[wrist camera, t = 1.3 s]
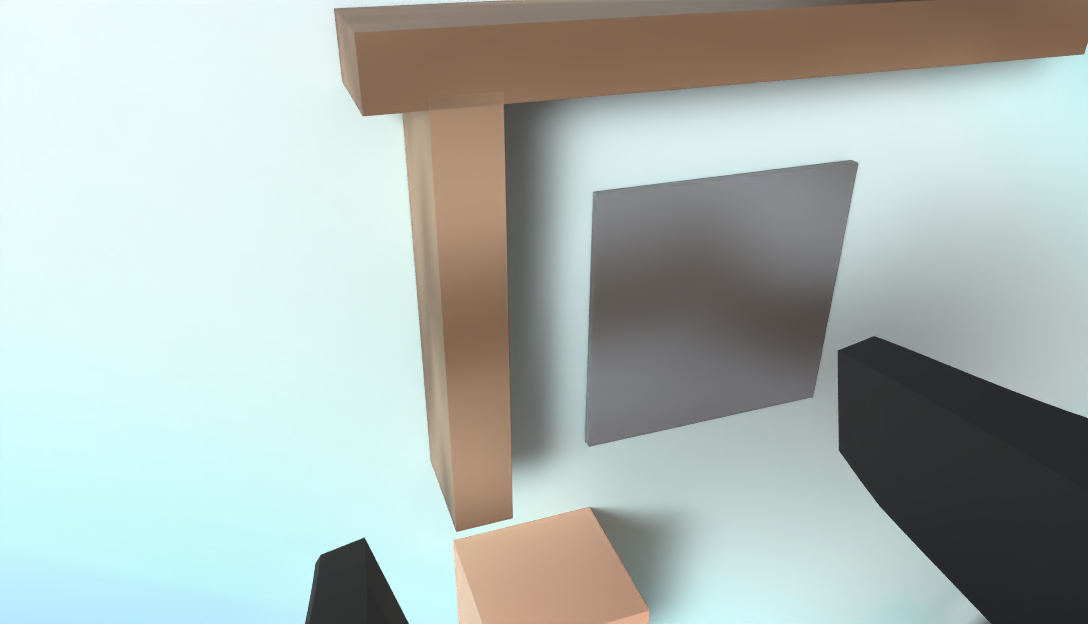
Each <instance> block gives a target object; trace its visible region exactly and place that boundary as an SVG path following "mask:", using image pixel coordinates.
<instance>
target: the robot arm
mask: <svg viewBox="0 0 1088 624" xmlns="http://www.w3.org/2000/svg"><path fill="white" fill-rule="evenodd" d="M838 413H839V451H840V453H841V454H842V455H843V457H844V458H845V460H846V461H847V462H848V464H849V465H850V467H851V468H852V469H853V471H854V472H855V474H856V475H857V476H858V478H859V479H860V481H861V482H862V483H863V485H864V486H865V487H866V489H867V490H868V491H869V493H870V494H871V495H872V497H873V498H874V499H875V500H876V502H877V503H878V504H879V506H880V507H881V508H882V509H883V510H884V511H885V512H886V513H887V514H888V516H889V517H890V518H891V519H892V520H893V521H894V522H895V523H896V524H897V525H898V526H899V527H900V528H901V530H902V531H903V532H904V533H905V534H906V535H907V536H908V537H909V538H910V539H911V540H912V541H913V542H914V543H915V544H916V545H917V547H918V548H919V549H920V550H921V551H922V552H923V553H924V554H925V555H926V556H927V557H928V558H929V559H930V560H931V561H932V562H933V563H934V564H935V565H936V566H937V567H938V568H939V570H940V571H941V572H942V573H943V574H944V575H945V576H946V577H947V578H948V579H949V580H950V581H951V582H952V583H953V584H954V585H955V586H956V587H957V588H958V589H959V590H960V591H961V593H962V594H963V595H964V596H965V597H966V598H967V599H968V600H969V601H970V602H971V603H972V604H973V605H974V606H975V607H976V608H977V609H978V610H979V611H980V612H981V613H982V614H983V616H984V617H985V618H986V619H987V620H988V621H989V622H990V623H991V624H1088V418H1086V417H1083V416H1080V415H1077V414H1074V413H1071V412H1068V411H1066V410H1063V409H1060V408H1057V407H1054V406H1052V405H1049V404H1046V403H1043V402H1041V401H1038V400H1035V399H1033V398H1030V397H1027V396H1025V395H1022V394H1019V393H1017V392H1014V391H1011V390H1009V389H1006V388H1004V387H1001V386H998V385H996V384H993V383H991V382H988V381H986V380H983V379H981V378H978V377H976V376H973V375H971V374H968V373H966V372H963V371H961V370H958V369H956V368H953V367H951V366H949V365H946V364H944V363H941V362H939V361H936V360H934V359H931V358H929V357H926V356H924V355H921V354H919V353H916V352H914V351H912V350H909V349H906V348H904V347H901V346H899V345H896V344H894V343H891V342H889V341H886V340H883V339H880V338H878V337H875V336H874V337H871V338H869V339H866V340H863V341H861V342H858V343H856V344H853V345H851V346H848V347H846V348H843V349H841V350H838ZM305 624H409V623H408V621H407V619H406V617H405V615H404V614H403V612H402V610H401V608H400V606H399V604H398V602H397V600H396V598H395V596H394V594H393V592H392V590H391V588H390V586H389V584H388V582H387V580H386V578H385V577H384V575H383V573H382V571H381V569H380V567H379V565H378V563H377V561H376V559H375V557H374V555H373V553H372V551H371V549H370V547H369V545H368V543H367V541H366V540H365V538H362V539H360V540H357V541H355V542H352V543H350V544H347V545H345V546H342V547H340V548H337V549H334V550H332V551H329V552H327V553H324V554H322V555H320V557H319V559H318V560H317V562H316V564H315V571H314V578H313V584H312V590H311V596H310V601H309V606H308V612H307V617H306V622H305Z"/></svg>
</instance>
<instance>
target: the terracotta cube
mask: <svg viewBox="0 0 1088 624" xmlns="http://www.w3.org/2000/svg"><path fill="white" fill-rule="evenodd" d="M453 544H454V558H455V573H456V587H457V602H458V616H459V624H649V613H650V610H649V608H648V607H647V605H646V603H645V602H644V600H643V598H642V596H641V595H640V593H639V591H638V590H637V588H636V586H635V584H634V583H633V581H632V579H631V577H630V576H629V574H628V572H627V571H626V569H625V567H624V565H623V564H622V562H621V560H620V559H619V557H618V555H617V553H616V552H615V550H614V548H613V547H612V545H611V543H610V541H609V540H608V538H607V536H606V535H605V533H604V531H603V529H602V528H601V526H600V524H599V523H598V521H597V519H596V517H595V516H594V514H593V512H592V510H591V509H590V507H587V508H583V509H579V510H575V511H571V512H567V513H563V514H559V515H555V516H551V517H547V518H543V519H538V520H534V521H530V522H526V523H522V524H518V525H514V526H510V527H506V528H502V529H498V530H494V531H490V532H486V533H481V534H477V535H473V536H469V537H465V538H461V539H457V540H453Z"/></svg>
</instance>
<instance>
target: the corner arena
mask: <svg viewBox="0 0 1088 624" xmlns="http://www.w3.org/2000/svg"><path fill="white" fill-rule="evenodd" d="M334 12H335V21H336V30H337V39H338V47H339V56H340V65H341V74H342V82H343V83H344V85H345V87H346V88H347V90H348V92H349V94H350V95H351V97H352V99H353V100H354V102H355V104H356V105H357V107H358V109H359V110H360V112H361V114H362V116H372V115H384V114H396V113H403V125H404V137H405V150H406V162H407V174H408V187H409V199H410V211H411V224H412V236H413V248H414V261H415V273H416V285H417V297H418V310H419V322H420V334H421V347H422V359H423V371H424V384H425V396H426V408H427V421H428V433H429V445H430V458H431V463H432V466H433V468H434V471H435V474H436V477H437V479H438V482H439V485H440V488H441V491H442V493H443V496H444V499H445V502H446V504H447V507H448V510H449V513H450V515H451V518H452V521H453V524H454V526H455V529H456V532H458V531H462V530H466V529H470V528H474V527H479V526H483V525H487V524H491V523H495V522H499V521H503V520H507V519H511V518H513V508H512V461H511V414H510V368H509V321H508V274H507V228H506V181H505V134H504V104H512V103H523V102H535V101H547V100H558V99H570V98H581V97H593V96H605V95H616V94H628V93H640V92H651V91H663V90H674V89H686V88H698V87H709V86H721V85H732V84H744V83H756V82H767V81H779V80H791V79H802V78H814V77H825V76H837V75H849V74H860V73H872V72H884V71H895V70H907V69H918V68H930V67H942V66H953V65H965V64H977V63H988V62H1000V61H1011V60H1023V59H1035V58H1046V57H1058V56H1069V55H1081V54H1084V53H1085V49H1086V46H1087V43H1088V0H506V1H485V2H464V3H443V4H422V5H400V6H379V7H358V8H337V9H334ZM857 166H858V163H856V162H854V161H852V160H848V161H840V162H832V163H824V164H816V165H808V166H800V167H792V168H784V169H775V170H767V171H759V172H751V173H743V174H735V175H727V176H719V177H711V178H702V179H694V180H686V181H678V182H670V183H662V184H654V185H646V186H637V187H629V188H621V189H613V190H605V191H597V192H593V213H592V244H591V275H590V305H589V336H588V367H587V398H586V428H585V442H586V443H587V445H588V446H589V447H590V446H594V445H599V444H603V443H608V442H612V441H617V440H621V439H626V438H630V437H635V436H640V435H644V434H649V433H653V432H658V431H662V430H667V429H671V428H676V427H680V426H685V425H689V424H694V423H698V422H703V421H707V420H712V419H716V418H721V417H725V416H730V415H734V414H739V413H743V412H748V411H752V410H757V409H761V408H766V407H770V406H775V405H779V404H784V403H788V402H793V401H797V400H802V399H806V398H811V397H813V395H814V390H815V384H816V379H817V374H818V369H819V364H820V358H821V353H822V348H823V343H824V338H825V332H826V327H827V322H828V317H829V312H830V307H831V301H832V296H833V291H834V286H835V281H836V275H837V270H838V265H839V260H840V255H841V249H842V244H843V239H844V234H845V229H846V223H847V218H848V213H849V208H850V203H851V198H852V192H853V187H854V182H855V177H856V172H857Z"/></svg>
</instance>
